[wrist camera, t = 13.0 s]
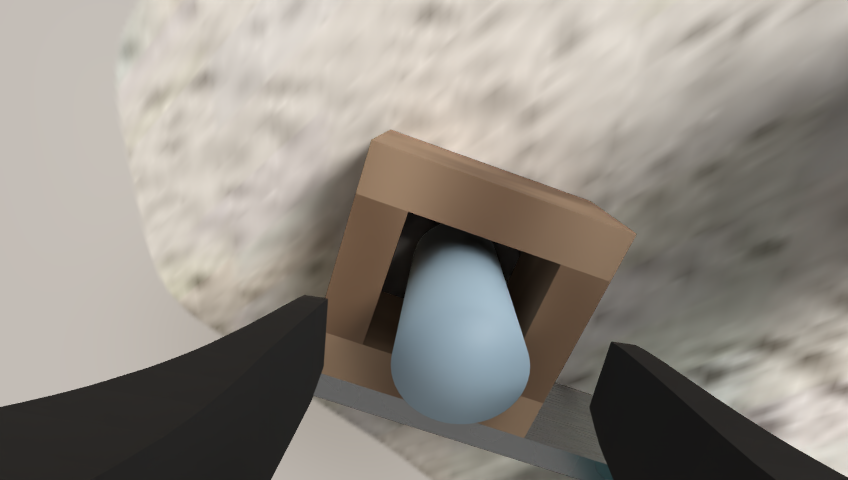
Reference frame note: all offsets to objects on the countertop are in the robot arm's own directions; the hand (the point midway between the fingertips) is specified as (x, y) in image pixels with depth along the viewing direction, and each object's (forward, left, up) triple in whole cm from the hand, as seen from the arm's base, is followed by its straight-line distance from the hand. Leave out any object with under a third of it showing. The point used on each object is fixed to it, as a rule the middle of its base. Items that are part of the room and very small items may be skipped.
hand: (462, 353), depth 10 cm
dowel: (0, 0, -7) cm, 7 cm away
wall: (-2, +5, -7) cm, 8 cm away
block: (0, 0, -7) cm, 7 cm away
